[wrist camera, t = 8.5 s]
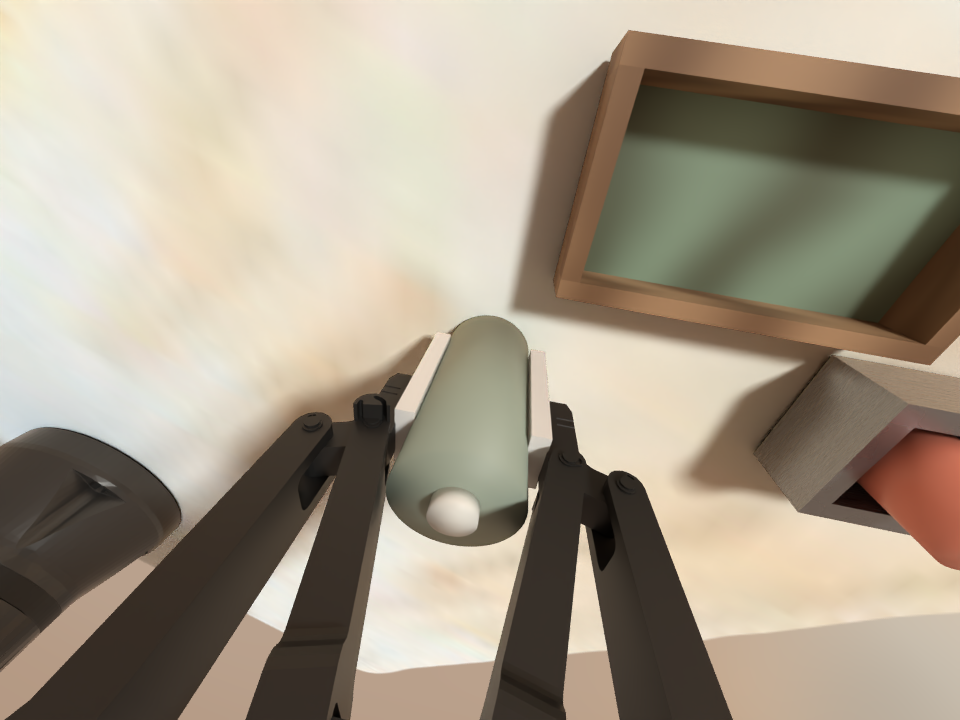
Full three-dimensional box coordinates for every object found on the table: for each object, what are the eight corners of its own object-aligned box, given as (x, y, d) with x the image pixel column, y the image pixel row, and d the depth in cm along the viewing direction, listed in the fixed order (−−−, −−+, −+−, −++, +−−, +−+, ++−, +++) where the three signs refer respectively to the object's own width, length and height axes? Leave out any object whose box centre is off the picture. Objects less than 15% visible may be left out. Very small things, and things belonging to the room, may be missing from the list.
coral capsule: (804, 450, 19) (905, 558, 14) (855, 394, 17) (997, 496, 12) (878, 465, 19) (1009, 580, 13) (939, 410, 17) (1121, 520, 11)
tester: (753, 453, 20) (797, 512, 17) (831, 354, 17) (908, 403, 13) (873, 477, 20) (943, 541, 17) (979, 381, 16) (1097, 439, 13)
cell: (445, 378, 21) (380, 547, 12) (452, 308, 18) (376, 453, 9) (519, 391, 20) (512, 575, 11) (536, 323, 18) (544, 485, 9)
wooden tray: (553, 280, 17) (556, 297, 15) (612, 53, 12) (628, 30, 10) (877, 338, 16) (929, 365, 14) (1063, 119, 12) (1182, 109, 9)
